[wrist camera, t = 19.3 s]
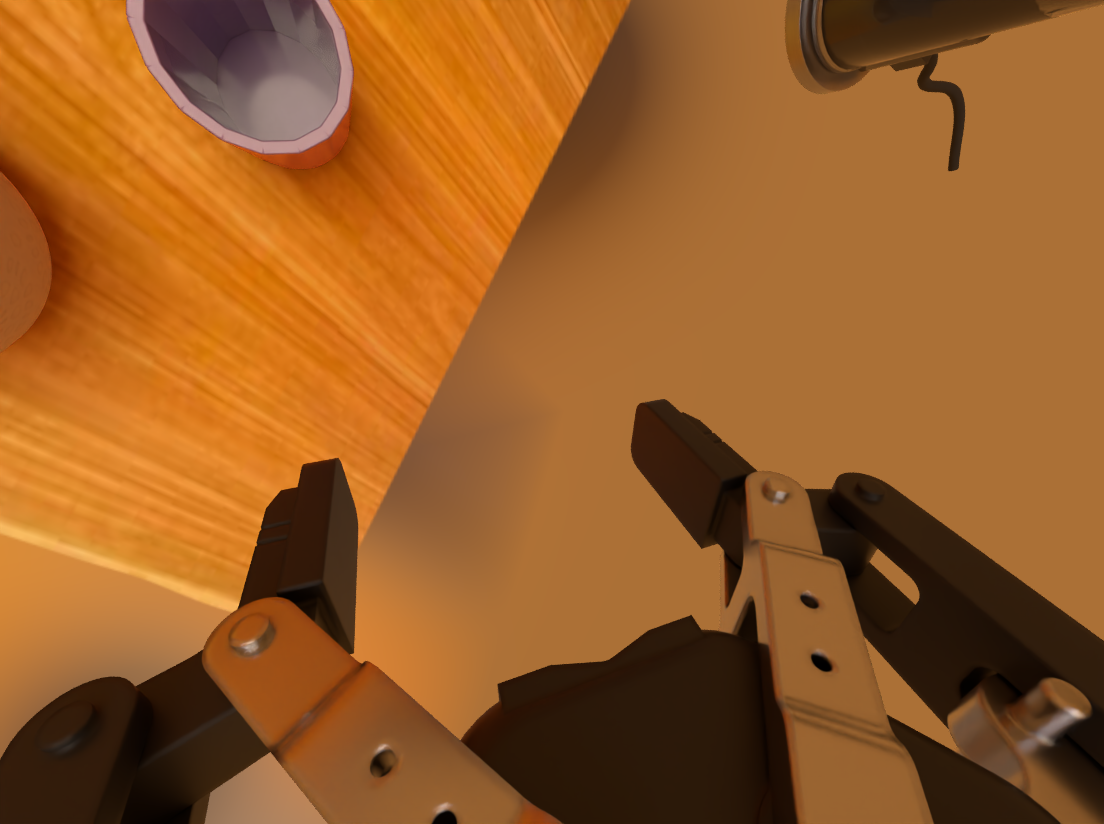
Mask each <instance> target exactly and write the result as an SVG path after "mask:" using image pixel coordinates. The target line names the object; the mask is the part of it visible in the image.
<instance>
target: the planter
mask: <svg viewBox="0 0 1104 824" xmlns="http://www.w3.org/2000/svg"><path fill="white" fill-rule="evenodd" d="M51 279H52V264H51V256H50V251H49V247H48V243H47V240H46V237H45V235H44V232H43V230H42V228H41V226H40V223H39V221H38V220H37V218H36V216H35V214H34V213H33V211H32V209H31V208H30V206H29V205H28V203H27V202H26V200H25V199H24V198H23V196H22V195H21V194H20V193H19V191H18V190H17V189H16V188H15V187H14V185H13V184H12V183H11V182H10V181H9V180H8V179H7V178H6V177H5V176H4V174H3V173H2V172H1V171H0V353H1V352H2V351H4V350H5V349H6V348H8V347H9V346H10V345H11V344H13V343H14V342H15V341H16V340H18V339H19V338H20V337H21V336H22V335H23V334H24V333H25V332H26V331H27V330H28V329H29V328H30V327H31V326H32V325H33V323H34V322H35V321H36V319H37V318H38V316H39V314H40V313H41V311H42V309H43V307H44V305H45V303H46V300H47V298H48V294H49V291H50V286H51Z"/></svg>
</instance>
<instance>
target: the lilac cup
mask: <svg viewBox="0 0 1104 824" xmlns="http://www.w3.org/2000/svg"><path fill="white" fill-rule="evenodd" d="M126 15H127V20H128V22H129V25H130V27H131V30H132V32H133V35H134V37H135V40H136V43H137V45H138V48H139V50H140V53H141V55H142V58H143V60H144V63H145V65H146V66H147V68H148V70H149V71H150V73H151V74H152V75H153V76H154V78H155V79H156V80H157V81H158V83H159V84H160V85H161V87H162V88H163V89H164V90H165V92H166V93H167V94H168V95H169V97H170V98H171V99H172V100H173V102H174V103H175V104H176V105H177V107H178V108H179V109H180V110H181V111H182V112H183V113H185V114H186V115H187V116H189V117H190V118H192V119H193V120H194V121H196V122H197V123H198V124H200V125H201V126H203V127H204V128H205V129H207V130H208V131H209V132H211V133H212V134H214V135H215V136H216V137H218V138H219V139H221V140H223V141H224V142H226V143H229V144H231V145H233V146H235V147H237V148H239V149H241V150H243V151H245V152H247V153H249V154H252V155H254V156H256V157H258V158H260V159H262V160H264V161H267V162H270V163H273V164H276V165H278V166H282V167H285V168H288V169H310V168H316V167H318V166H321V165H323V164H325V163H327V162H329V161H330V160H332V159H333V158H335V157H336V155H337V154H338V153H339V151H340V150H341V149H342V147H343V145H344V143H345V142H346V140H347V138H348V133H349V127H350V119H351V109H352V94H353V79H354V69H353V65H352V60H351V55H350V51H349V46H348V42H347V37H346V32H345V29H344V26H343V24H342V23H341V21H340V19H339V17H338V15H337V13H336V12H335V10H334V8H333V6H332V4H331V3H330V1H329V0H126Z"/></svg>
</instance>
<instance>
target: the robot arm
mask: <svg viewBox="0 0 1104 824" xmlns="http://www.w3.org/2000/svg"><path fill="white" fill-rule="evenodd" d="M1101 5H1104V0H813V7H812V36H813V42H814V46H815V50H816V53H817V55H818V57H819V59H820V61H821V62H822V64H823V65H824V66H825V67H826V68H827V69H828V70H830V71H832V72H834V73H846V72H850V71H854V70H857V69H858V70H859V71H860V72H864V71H868V70H872V69H876V68H880V67H884V66H888V65H890V66H891V67H892V68H893V69H894V70H895V71H899V70H904V69H908V68H912V67H916V66H921V65H924V68H923V70H922V71H921V73H920V75H919V77H918V80H917V83H918V86H919V88H920V89H921V90H924V91H927V92H942V93H945V94H947V95H948V96H949V97H950V99H951V102H952V105H953V111H954V126H953V135H952V141H951V148H950V156H949V166H948V170H949V171H954V170H957V169H958V168H959V157H960V150H961V143H962V137H963V130H964V121H965V103H964V98H963V94H962V92H961V90H960V88H959V87H958V86H957V85H955V84H953V83H950V82H945V81H932V80H931V79H930V78H929V77H930V75H931V74H932V72H933V70H934V68H935V66H936V64H937V60H938V53H941V52H945V51H949V50H953V49H957V48H961V47H965V46H969V45H973V44H977V43H980V42H983V41H984V40H986V39H987V38H988V37H989V36H990V35H991V34H994V33H997V32H1001V31H1005V30H1009V29H1013V28H1017V27H1021V26H1025V25H1029V24H1032V23H1036V22H1040V21H1044V20H1048V19H1052V18H1056V17H1059V16H1063V15H1066V14H1070V13H1074V12H1078V11H1082V10H1086V9H1090V8H1094V7H1098V6H1101ZM631 453H632V458H633V461H634V463H635V465H636V466H637V468H638V469H639V470H640V472H641V473H642V474H643V475H644V477H645V478H646V479H647V480H648V482H649V483H650V484H651V485H652V487H653V488H654V489H655V490H656V492H657V493H658V494H659V496H660V497H661V498H662V499H663V501H664V502H665V503H666V504H667V506H668V507H669V508H670V509H671V511H672V512H673V513H674V514H675V516H676V517H677V518H678V519H679V521H680V522H681V523H682V525H683V526H684V527H685V528H686V530H687V531H688V532H689V533H690V535H691V536H692V537H693V539H694V540H695V541H696V542H697V544H698V545H699V546H700V547H701V549H702V548H705V547H708V546H711V545H715V544H719V545H720V546H721V547H722V552H721V555H720V624H719V630H718V631H715V630H701V629H700V627H699V626H698V624H697V623H696V621H695V620H694V618H693V617H692V615H690V616H688V617H685V618H682V619H680V620H677V621H674V622H671V623H668V624H665V625H662V626H660V627H657V628H654V629H651V630H649V631H647V632H646V633H644V634H643V635H642V636H640V637H639V638H638V639H636V640H635V641H634V642H632V643H631V644H630V645H629V646H627V647H626V648H624V649H623V650H622V651H621V652H619V653H618V654H616V655H615V656H614V657H612V658H611V659H610V660H607V661H603V662H589V663H575V664H562V665H550V666H547V667H545V668H541V669H539V670H536V671H533V672H530V673H527V674H525V675H522V676H519V677H516V678H513V679H511V680H508V681H505V682H502V683H499V684H498V693H499V702H498V703H496V704H495V705H494V706H492V707H491V708H489V709H488V710H487V711H486V712H485V713H484V714H483V715H482V716H481V717H480V718H479V719H477V720H476V722H475V723H474V724H473V725H472V726H471V728H470V729H469V730H468V731H467V732H466V733H465V735H464V736H463V737H462V739H461V740H459V739H458V738H457V737H456V736H454V735H453V734H452V733H451V732H450V731H449V730H448V729H447V728H445V727H444V726H443V725H442V724H441V723H440V722H438V720H436V719H435V718H434V717H433V716H432V715H431V714H430V713H429V712H428V711H426V710H425V709H424V708H423V707H422V706H421V705H420V704H418V703H417V702H416V701H415V700H414V699H413V698H412V697H411V696H410V695H408V694H407V693H406V692H405V691H404V690H403V689H402V688H401V687H399V686H398V685H397V684H396V683H395V682H394V681H393V680H391V679H390V678H389V677H388V676H387V675H386V674H385V673H384V672H382V671H381V670H380V669H379V668H378V667H377V666H375V665H374V664H372V663H370V662H368V661H365V662H364V663H363V664H361V663H359V662H358V661H356V660H355V659H354V658H353V657H352V656H351V655H350V654H353V653H354V636H355V607H356V606H355V605H356V578H357V549H358V519H357V513H356V508H355V504H354V501H353V498H352V495H351V492H350V488H349V485H348V482H347V479H346V476H345V473H344V470H343V467H342V464H341V461H340V460H339V458H335V459H329V460H324V461H318V462H313V463H307V464H303V466H302V469H301V474H300V479H299V483H298V487H296V488H291V489H286V490H281V491H280V492H279V493H278V495H277V496H276V497H275V498H274V500H273V501H272V502H271V503H270V504H269V506H268V507H267V508H266V511H265V514H264V518H263V521H262V525H261V531H260V532H259V536H258V539H257V546H255V550H254V553H253V557H252V561H251V564H250V568H249V571H248V575H247V578H246V582H245V585H244V589H243V593H242V596H241V600H240V603H239V606H238V609H237V610H236V611H234V612H233V613H231V614H230V615H229V616H228V617H227V618H225V619H224V620H223V621H222V622H221V623H220V624H219V625H218V626H217V627H216V628H215V629H214V631H213V632H212V633H211V635H210V636H209V638H208V639H207V642H206V644H205V646H204V649H203V650H201V651H200V652H198V653H197V654H196V655H194V656H192V657H190V658H189V659H187V660H185V661H183V662H181V663H180V664H177V665H176V666H174V667H172V668H170V669H168V670H166V671H164V672H162V673H160V674H158V675H156V676H154V677H153V678H151V679H149V680H147V681H145V682H143V683H141V684H139V685H137V686H134V685H133V684H132V683H131V682H130V681H128V680H127V679H125V678H121V677H105V678H100V679H96V680H92V681H89V682H87V683H84V684H82V685H80V686H78V687H76V688H73V689H71V690H70V691H68V692H66V693H64V694H63V695H61V696H59V697H58V698H56V699H55V700H54V701H52V702H51V703H50V704H48V705H47V706H46V707H44V708H43V709H42V710H40V711H39V712H38V713H37V714H36V715H35V716H33V718H31V719H30V720H29V721H28V722H27V723H26V724H25V726H23V728H22V729H21V730H20V731H19V732H18V733H17V734H16V736H15V737H14V738H13V740H12V741H11V742H10V744H9V745H8V747H7V749H6V750H5V752H4V754H3V756H2V757H1V759H0V824H204V823H205V818H206V812H207V807H208V802H209V796H210V792H212V791H213V790H214V789H216V788H217V787H219V786H220V785H222V784H223V783H225V782H226V781H228V780H229V779H231V778H232V777H234V776H235V775H237V774H238V773H240V772H241V771H243V770H244V769H246V768H247V767H249V766H250V765H251V764H253V763H255V762H256V761H257V760H259V759H260V758H262V757H263V756H265V755H266V754H268V753H269V752H271V753H272V754H273V755H274V757H275V758H276V760H277V761H278V762H279V763H280V765H281V766H282V767H283V768H284V770H285V771H286V772H287V773H288V774H289V776H290V777H291V778H292V780H293V781H294V782H295V783H296V784H297V786H298V787H299V788H300V790H301V791H302V792H303V793H304V794H305V796H306V797H307V798H308V799H309V801H310V802H311V803H312V804H313V806H314V807H315V808H316V809H317V811H318V812H319V813H320V814H321V815H322V817H323V818H324V819H325V821H326V822H327V823H328V824H1104V641H1103V640H1102V639H1100V638H1099V637H1097V636H1096V635H1095V634H1093V633H1092V632H1091V631H1089V630H1088V629H1087V628H1085V627H1084V626H1082V625H1081V624H1080V623H1078V622H1077V621H1076V620H1074V619H1073V618H1071V617H1070V616H1069V615H1067V614H1066V613H1065V612H1063V611H1062V610H1061V609H1059V608H1058V607H1056V606H1055V605H1054V604H1052V603H1051V602H1049V601H1048V600H1047V599H1045V598H1044V597H1043V596H1041V595H1040V594H1038V593H1037V592H1036V591H1034V590H1033V589H1032V588H1030V587H1029V586H1027V585H1026V584H1025V583H1023V582H1022V581H1021V580H1019V579H1018V578H1017V577H1015V576H1014V575H1012V574H1011V573H1010V572H1008V571H1007V570H1006V569H1004V568H1003V567H1001V566H1000V565H999V564H997V563H995V562H994V561H993V560H992V559H990V558H989V557H988V556H986V555H985V554H984V553H982V552H981V551H979V550H978V549H977V548H975V547H974V546H973V545H971V544H970V543H969V542H967V541H966V540H964V539H963V538H962V537H960V536H959V535H958V534H956V533H955V532H953V531H952V530H950V529H949V528H948V527H947V526H945V525H944V524H942V523H941V522H939V521H938V520H937V519H935V518H934V517H933V516H931V515H930V514H929V513H927V512H926V511H925V510H923V509H922V508H920V507H919V506H918V505H916V504H915V503H914V502H912V501H911V500H909V499H908V498H907V497H905V496H904V495H903V494H901V493H900V492H898V491H897V490H896V489H894V488H893V487H892V486H890V485H889V484H887V483H885V482H883V481H882V480H880V479H877V478H875V477H872V476H869V475H865V474H861V473H844V474H841V475H839V476H838V477H837V479H836V481H835V483H834V485H833V487H832V489H804V488H803V487H802V486H801V485H800V484H799V483H797V482H796V481H795V480H793V479H791V478H789V477H787V476H785V475H782V474H780V473H776V472H771V471H757V470H756V469H754V468H753V467H752V466H751V465H750V464H749V463H748V462H747V461H745V460H744V459H743V458H742V457H741V456H740V455H739V454H737V453H736V452H735V451H734V450H733V449H732V448H731V447H729V446H728V445H727V444H726V443H725V442H722V440H721V439H720V438H719V437H718V436H717V435H716V434H715V433H712V431H711V430H710V429H709V428H708V427H707V426H706V425H704V424H703V423H702V422H701V421H700V420H698V419H696V418H694V417H692V416H690V415H687V414H686V413H684V412H683V413H681V412H679V411H678V410H677V409H676V408H675V407H674V406H673V405H671V403H670V402H668V401H667V400H665V399H661V400H656V401H650V402H645V403H640V404H639V405H638V406H637V409H636V414H635V421H634V428H633V435H632V443H631ZM877 549H879V550H880V551H881V552H882V553H884V554H885V555H886V556H887V557H888V558H889V559H890V560H892V561H893V562H894V563H895V564H896V565H897V566H898V567H900V568H901V569H902V570H903V571H904V572H905V573H906V574H908V575H909V576H910V577H911V578H912V580H913V581H914V582H915V583H916V585H917V587H918V590H919V593H920V598H919V601H918V602H917V604H916V605H915V604H914V603H913V602H912V601H910V600H909V598H907V597H906V596H905V595H904V594H903V593H902V592H901V591H900V590H899V589H898V588H897V587H895V586H894V585H893V584H892V583H891V582H890V581H889V580H888V579H887V578H886V577H885V576H884V575H883V574H882V573H880V572H879V571H878V570H877V569H876V568H875V567H874V566H873V565H872V564H871V563H870V562H869V561H870V560H871V558H872V557H873V555H874V553H875V552H876V550H877ZM864 637H865V638H866V639H867V640H868V641H869V642H870V643H871V644H872V645H873V647H875V649H876V650H877V651H878V652H879V653H880V654H881V655H882V656H883V657H884V659H885V660H886V661H887V662H888V663H889V664H890V665H891V666H892V667H893V669H894V670H895V671H896V672H897V673H898V674H899V675H900V676H901V677H902V678H903V680H904V681H905V682H906V683H907V684H908V685H909V686H910V687H911V688H912V689H913V691H914V692H915V693H916V694H917V695H918V696H919V697H920V698H921V699H922V700H923V702H924V703H925V704H926V705H927V706H928V707H929V708H930V709H931V710H932V711H933V713H934V714H935V715H936V716H937V717H938V718H939V719H940V720H941V721H942V722H943V724H944V725H945V726H946V727H947V728H948V729H949V731H950V734H951V736H952V738H953V740H954V742H955V743H956V745H957V747H956V748H955V749H954V750H951V749H949V748H947V747H945V746H944V745H942V744H940V743H938V742H936V741H934V740H932V739H931V738H929V737H927V736H925V735H923V734H922V733H920V732H918V731H916V730H914V729H913V728H911V727H909V726H907V725H905V724H903V723H901V722H900V721H898V720H896V719H894V718H892V717H890V716H889V715H887V714H886V711H885V708H884V704H883V701H882V697H881V694H880V691H879V687H878V684H877V681H876V677H875V674H874V670H873V667H872V663H871V660H870V657H869V653H868V650H867V646H866V643H865V640H864Z"/></svg>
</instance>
